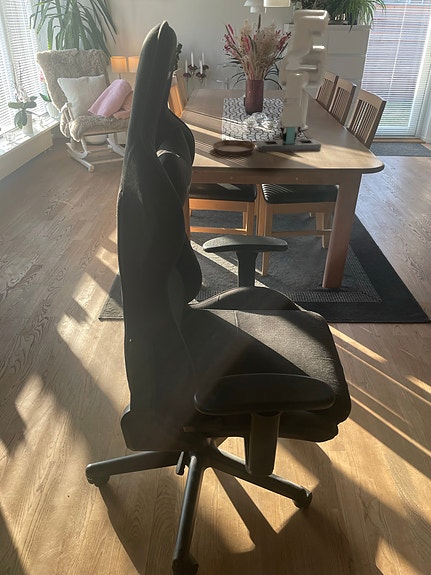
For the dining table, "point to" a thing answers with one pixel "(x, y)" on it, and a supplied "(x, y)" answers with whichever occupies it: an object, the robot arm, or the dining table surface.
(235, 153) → the plant saucer
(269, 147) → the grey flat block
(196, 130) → the dining table surface
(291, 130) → the square block
